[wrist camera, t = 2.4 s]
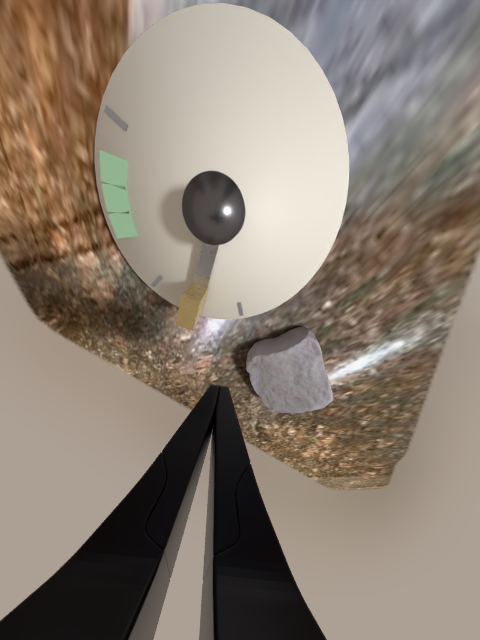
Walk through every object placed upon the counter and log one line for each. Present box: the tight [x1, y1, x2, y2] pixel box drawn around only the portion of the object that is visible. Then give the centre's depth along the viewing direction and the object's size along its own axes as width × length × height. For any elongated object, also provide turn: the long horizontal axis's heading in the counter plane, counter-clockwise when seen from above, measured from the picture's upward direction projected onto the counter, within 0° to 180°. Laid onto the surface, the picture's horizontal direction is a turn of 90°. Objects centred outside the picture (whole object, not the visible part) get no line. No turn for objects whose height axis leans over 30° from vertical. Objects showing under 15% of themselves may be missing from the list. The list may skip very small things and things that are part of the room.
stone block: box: [246, 327, 333, 413], centre depth 24 cm, size 12×5×10 cm
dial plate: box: [95, 3, 349, 319], centre depth 16 cm, size 21×21×1 cm
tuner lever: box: [176, 171, 246, 330], centre depth 15 cm, size 13×4×4 cm, turn 161°
